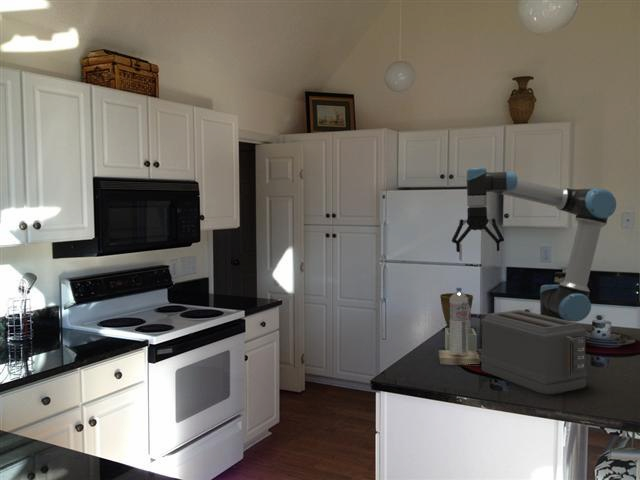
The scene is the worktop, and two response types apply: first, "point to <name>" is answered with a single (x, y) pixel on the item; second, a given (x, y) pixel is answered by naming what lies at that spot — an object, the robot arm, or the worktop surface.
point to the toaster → (534, 351)
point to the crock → (471, 339)
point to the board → (458, 358)
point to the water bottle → (459, 324)
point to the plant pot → (446, 305)
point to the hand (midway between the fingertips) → (477, 259)
